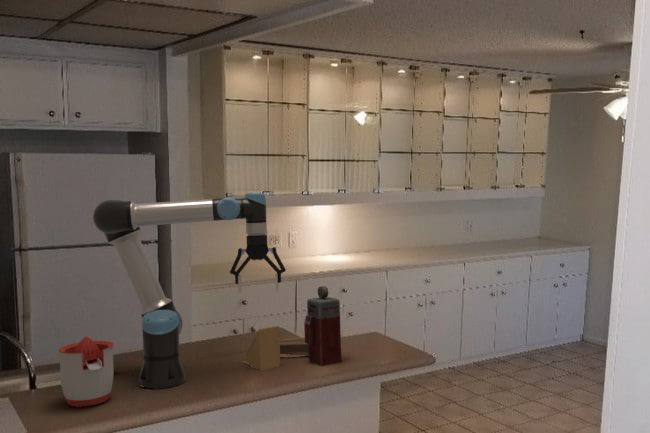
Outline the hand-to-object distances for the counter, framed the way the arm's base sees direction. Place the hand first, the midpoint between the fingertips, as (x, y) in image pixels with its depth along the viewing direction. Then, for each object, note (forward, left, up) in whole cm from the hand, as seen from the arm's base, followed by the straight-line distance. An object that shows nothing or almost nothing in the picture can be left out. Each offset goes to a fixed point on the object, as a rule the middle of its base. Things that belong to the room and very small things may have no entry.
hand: (258, 292), depth 218 cm
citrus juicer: (-38, +48, -27) cm, 67 cm away
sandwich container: (+1, 0, -27) cm, 27 cm away
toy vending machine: (+1, -23, -27) cm, 35 cm away
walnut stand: (+15, -15, -27) cm, 34 cm away
